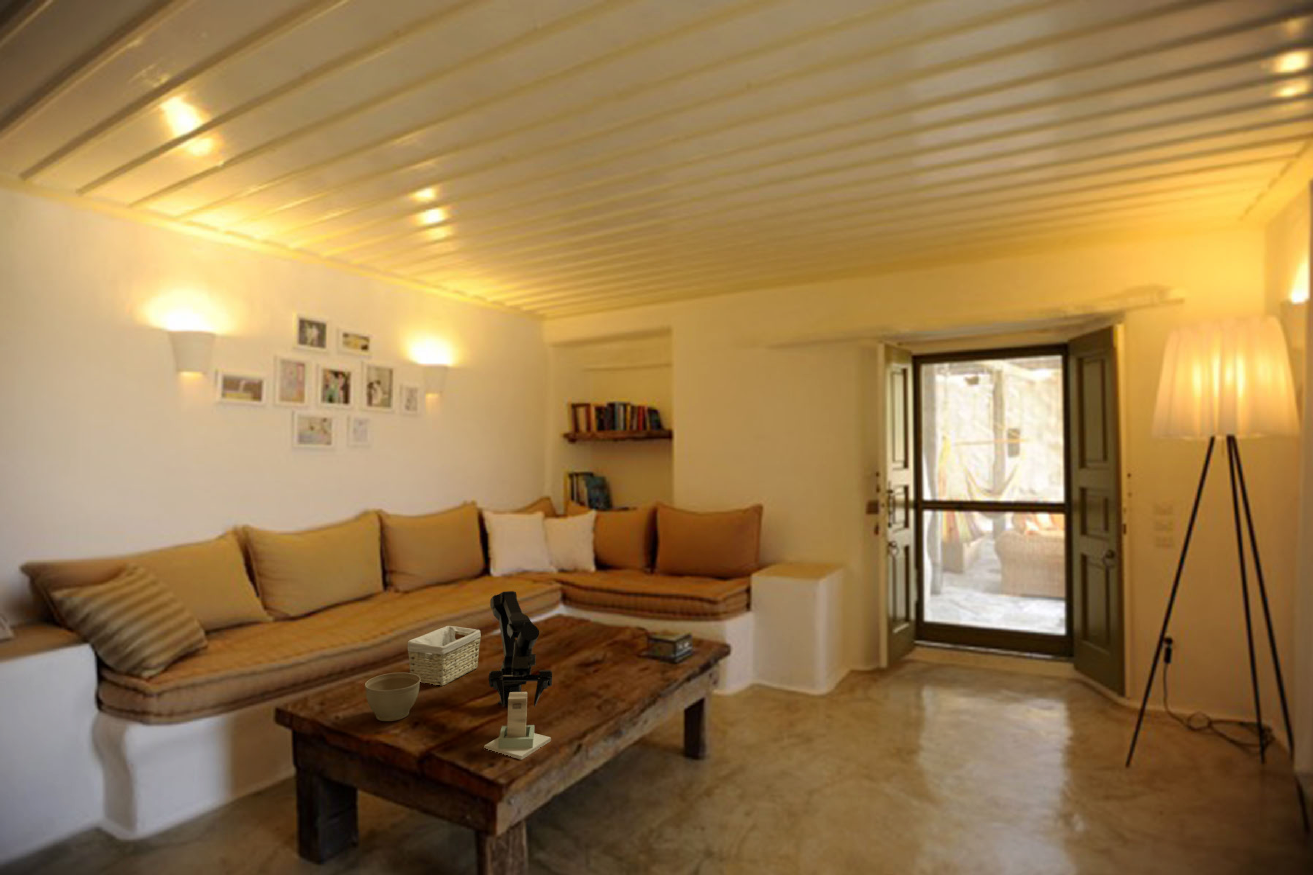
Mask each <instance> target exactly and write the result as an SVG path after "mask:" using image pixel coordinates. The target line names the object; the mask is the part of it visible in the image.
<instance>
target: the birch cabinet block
mask: <svg viewBox="0 0 1313 875" xmlns="http://www.w3.org/2000/svg"><path fill="white" fill-rule="evenodd" d="M527 711H528V691H521V692H510V693H509V698H508V706H507V725H506V726H507V738H517V737H526V725H527V718H528V717H527V713H528V712H527Z"/></svg>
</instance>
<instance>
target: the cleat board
mask: <svg viewBox="0 0 1313 875" xmlns="http://www.w3.org/2000/svg"><path fill="white" fill-rule="evenodd" d="M551 741H552V737H550V736H548V735H547V736H546V735H544V734H543V735H542V734H538V733H535V724H528V725H527V724H526V737H517V738H507V725H501V728H500V732H499V736H498V737H497V738H495V739H493V740H492V741H490V742H488V743H486V744H485V745H484V746H483V749H484V748H486V749H488V750H487V751H489V750H492V751H495V752H494V753H496V752H498V753H497V754H499V753H502V754H501V755H503V754H504V756H506V755H508V756H507V757H510V756H511V758H514V759H517V760H520V761H523V760H524V759H526V757H529V756H530V755H531V754H533V753H534V752H536V751H537V750H539V749H541V748H542V747H544V746H545V745H546V744H548V743H550V742H551ZM540 747H541V748H540ZM492 751H491V752H492Z"/></svg>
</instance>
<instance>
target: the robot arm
mask: <svg viewBox="0 0 1313 875" xmlns="http://www.w3.org/2000/svg"><path fill="white" fill-rule="evenodd" d="M517 598H518V596H517V592H516V591H515V590H510V591H502V592H500V593H499V594H498V593H497V594H494V595H493V596H491V598H490V600H489V601H490V602H489V606H490V607H489V608H490V609H492V615H493V616H494V617H495V619H496V620H498V623H499V630H500V637H501V643H502V650H503V657H504V658H503V661H502V663H501V666H500V669H499V670H491V671H490V672H489V673H488V686H489V688H493V690H495V691H497V693H498V695H499V699H500V701H497V704H498V705H501V704H502V705H501V707H502V708H504V707H508V698H509V693H510V692H522V686H524V685H527V682H537V683H536V688H535V694H534V700H533V703H534V704H533V706H534V707H536V706H537V704H538V701H539V699H540V697H541V695H542V693H543V692H544V690H547V689H548V687H552V686H553V671H552V670H551V669H539V670H538V674H532V667H533V666H536V659H537V658H536V656H537V655H536V653H534V654H533V648H534V647H535V644H536V643H537V640H538V638H539V636H540V629H539V628H538V627H537V626H536V625H535V624H534V622H532V621H531V619H530V617H529V616H528V615H527V614H524V613H523V612H522V609H521V606H520V603H519V601H518V599H517Z"/></svg>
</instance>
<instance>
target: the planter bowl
mask: <svg viewBox="0 0 1313 875" xmlns="http://www.w3.org/2000/svg"><path fill="white" fill-rule="evenodd" d="M420 680H421V679H420V677H419V676H418V675H416V674H412V673H410V672H389V673H385V674H380V675H377V676H374V677H372V678H370V679H368V680H367V681H365V683H364V689H365V695H366V696H365V697H366V700H367V703H368V706H369V707H370V709H371V711H372V712H373V714H375V718H376V719H377V720H378V721H381V722H393V721H399V720H402V719H404V718H406V717H408V716H409V714H410V710H411V709H412V707H414V704H415V702H416V701H417V698H418V695H419V692H420V684H421V683H420Z"/></svg>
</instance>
